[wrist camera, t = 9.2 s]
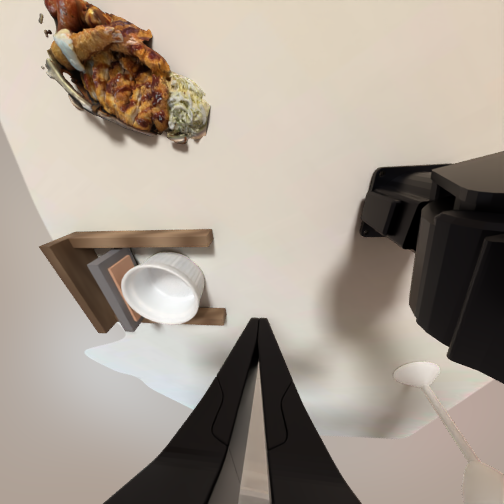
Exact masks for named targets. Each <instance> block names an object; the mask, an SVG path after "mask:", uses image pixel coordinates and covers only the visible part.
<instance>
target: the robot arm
mask: <svg viewBox="0 0 504 504" xmlns="http://www.w3.org/2000/svg"><path fill="white" fill-rule="evenodd" d="M381 171H383V174H382V175H381V176H379V173H380V172H381ZM361 219H362V223H361V228H360V234H361V235H362V236H363V237H388V238H389V239H391V240H392V241H393V242H395V243H396V244H398V245H399V246H400V247H402V248H403V249H410V250H411V251H413V252H414V253H415V259H414V267H413V274H412V281H411V288H410V295H409V306H410V308H411V310H412V312H413V314H414V316H415V317H416V318H417V319H416V322H417V324H418V325H419V326H421V327H422V328H423V329H424V330H425V331H426V332H427V333H428V334H430V335H431V336H433V337H434V338H435V339H437V340H438V341H440V342H441V343H443V344H444V345H446V346H448V347H449V349H448V352H447V358H448V359H450V360H451V361H454V362H456V363H459V364H462V365H464V366H467V367H470V368H472V369H475V370H478V371H480V372H482V373H484V374H486V375H488V376H490V377H492V378H494V379H495V380H498V381H500V382H502V383H503V384H504V151H502V152H498V153H494V154H491V155H487V156H483V157H479V158H475V159H471V160H467V161H463V162H459V163H455V164H433V165H413V166H394V167H380V168H378V169H376V170H375V172H374V174H373V179H372V183H371V187H370V191H369V192H368V193H367V195H366V199H365V203H364V207H363V212H362V216H361ZM366 230H367V232H366V233H364V231H366ZM258 363H259V371H260V384H261V397H262V410H263V423H264V436H265V449H266V462H267V475H268V488H269V501H270V504H362V503H361V502H360V501H359V499H358V498H357V497H356V495H355V494H354V493H353V491H352V490H351V489H350V487H349V486H348V484H347V483H346V481H345V480H344V478H343V477H342V475H341V473H340V472H339V470H338V468H337V467H336V465H335V463H334V462H333V460H332V458H331V456H330V454H329V452H328V451H327V449H326V447H325V445H324V443H323V441H322V439H321V438H320V436H319V434H318V432H317V430H316V428H315V426H314V425H313V423H312V421H311V419H310V417H309V415H308V413H307V411H306V409H305V407H304V405H303V403H302V401H301V398H300V396H299V394H298V392H297V389H296V387H295V384H294V382H293V380H292V377H291V375H290V373H289V370H288V368H287V365H286V363H285V360H284V358H283V356H282V353H281V351H280V348H279V346H278V343H277V341H276V339H275V336H274V334H273V331H272V329H271V326H270V324H269V322H268V319H267V318H260V319H259V318H251V319H250V321H249V323H248V324H247V326H246V328H245V329H244V331H243V333H242V334H241V336H240V337H239V339H238V341H237V342H236V344H235V346H234V347H233V349H232V351H231V352H230V354H229V356H228V357H227V359H226V361H225V362H224V364H223V366H222V367H221V369H220V371H219V372H218V374H217V377H215V379H214V380H213V382H212V384H211V385H210V387H209V388H208V390H207V392H206V393H205V395H204V396H203V398H202V399H201V401H200V402H199V403H198V405H197V406H196V408H195V409H194V410H193V412H192V413H191V414H190V416H189V417H188V418H187V420H186V421H185V422H184V424H183V425H182V426H181V428H180V429H179V430H178V432H177V433H176V434H175V436H174V437H173V438H172V440H171V441H170V442H169V444H168V445H167V446H166V447H165V449H164V450H163V451H162V452H161V453H160V454H159V455H158V457H157V458H155V459H154V460H153V461H152V462H151V463H150V464H149V465H148V466H147V467H145V468H144V469H143V470H142V471H141V472H140V473H138V474H137V475H136V476H135V477H134V478H133V479H131V480H130V481H129V482H128V483H127V484H125V485H124V486H123V487H122V488H121V489H120V490H119V491H117V492H116V493H115V494H114V495H113V496H112V497H110V498H109V499H108V500H107V501H106V502H104V503H103V504H238V500H239V493H240V485H241V479H242V473H243V466H244V459H245V452H246V446H247V439H248V432H249V425H250V418H251V412H252V405H253V398H254V391H255V384H256V378H257V371H258Z"/></svg>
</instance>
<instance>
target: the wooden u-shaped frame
mask: <svg viewBox="0 0 504 504" xmlns="http://www.w3.org/2000/svg"><path fill="white" fill-rule="evenodd" d="M212 240H213V233H212V229H197V230H145V231H94V232H74V233H71V234H69V235H66V236H64V237H61V238H59V239H57V240H54V241H52V242H49V243H47V244H44V245H42V246H40V247H39V248H40V249H41V251H42V252H43V253H44V255H45V256H46V258H47V259H48V261H49V262H50V264H51V265H52V266H53V268H54V269H55V271H56V272H57V274H58V275H59V277H60V278H61V280H62V281H63V282H64V284H65V285H66V287H67V288H68V289H69V291H70V293H71V294H72V295H73V297H74V298H75V300H76V301H77V303H78V304H79V305H80V307H81V308H82V310H83V311H84V313H85V314H86V316H87V317H88V319H89V320H90V321H91V323H92V324H93V326H94V327H95V329H96V330H97V332H98V333H107V332H108V331H109V330H110V329H111V328H112V327H113V325H114V324H115V323H116V322H120V321H119V320H118V318H117V316H116V315H115V313H114V311H113V309H112V308H111V306H110V304H109V303H108V301H107V299H106V297H105V296H104V294H103V292H102V291H101V289H100V287H99V285H98V284H97V282H96V280H95V278H94V277H93V275H92V273H91V272H90V270H89V268H88V266H87V264H89V263H91V262H92V261H94V260H95V259H97V258H98V257H97V255H96V253H95V251H94V249H93V248H131V247H209V245H210V244H211V242H212ZM225 318H226V309H225V308H198V311H197V313H196V315H195V316H194V317H193V318H192V319H191V320H189V321H187V322H185V323H182V324H196V325H224V321H225ZM142 322H143V323H157V322H154V321H151V320H149V319H146V318H144V319H143V321H142Z"/></svg>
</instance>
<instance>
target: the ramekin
mask: <svg viewBox="0 0 504 504" xmlns="http://www.w3.org/2000/svg"><path fill="white" fill-rule="evenodd" d="M204 284H205V281H204V275H203V273H202V271H201V269H200V268H199V266H198V265H197V264H196V263H195V262H194V261H193V260H191V259H190V258H188V257H186V256H184V255H182V254H179V253H176V252H160V253H157V254H155V255H153V256H151V257H150V258H149V259H147V260H146V261H144V262H143V263H142V264H140V265H137V266H135V267H133V268H132V269H130V270H129V271H128V272H127V273H126V274H125V275H124V277H123V279H122V281H121V290H122V294H123V297H124V298H125V300H126V302H127V303H128V304H129V306H130V307H131V308H132V309H133V310H135V311H136V312H137V313H138V314H140V315H141V316H143V317H144V318H146V319H149V320H151V321H154V322H157V323H161V324H167V325H176V324H182V323H185V322H187V321H189V320H191V319H192V318H193V317H194V316H195V315H196V313H197V311H198V308H199V301H200V298H201V296H202V293H203V289H204Z"/></svg>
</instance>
